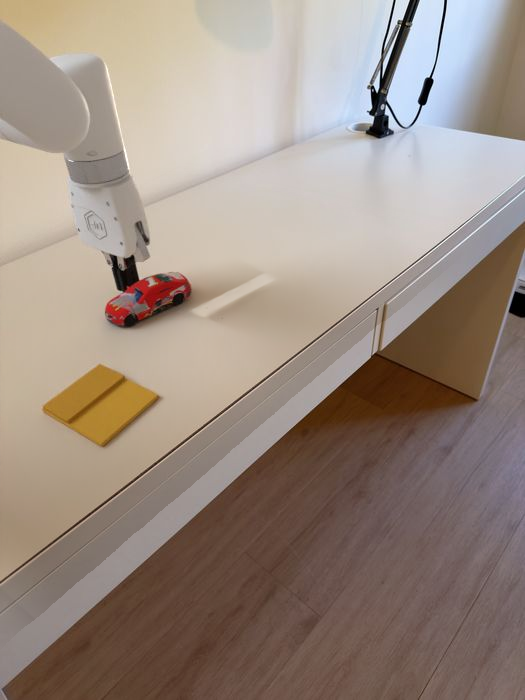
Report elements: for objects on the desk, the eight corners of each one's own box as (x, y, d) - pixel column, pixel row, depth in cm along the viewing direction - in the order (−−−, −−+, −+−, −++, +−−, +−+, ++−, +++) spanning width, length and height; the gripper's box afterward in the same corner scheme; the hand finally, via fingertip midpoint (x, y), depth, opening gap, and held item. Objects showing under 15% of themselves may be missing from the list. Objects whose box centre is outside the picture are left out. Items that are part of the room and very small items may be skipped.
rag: (101, 447, 57) (99, 441, 56) (42, 412, 61) (40, 405, 61) (159, 397, 62) (157, 391, 62) (101, 368, 67) (99, 362, 66)
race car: (116, 334, 73) (110, 310, 70) (100, 316, 76) (93, 293, 73) (198, 298, 78) (194, 275, 76) (179, 283, 82) (175, 261, 79)
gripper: (36, 166, 68) (76, 286, 80) (118, 186, 61) (148, 314, 73) (81, 147, 73) (112, 263, 84) (161, 165, 66) (183, 288, 78)
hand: (129, 287), depth 79 cm, fingers closed
